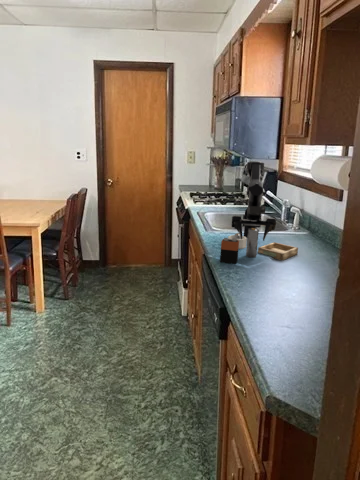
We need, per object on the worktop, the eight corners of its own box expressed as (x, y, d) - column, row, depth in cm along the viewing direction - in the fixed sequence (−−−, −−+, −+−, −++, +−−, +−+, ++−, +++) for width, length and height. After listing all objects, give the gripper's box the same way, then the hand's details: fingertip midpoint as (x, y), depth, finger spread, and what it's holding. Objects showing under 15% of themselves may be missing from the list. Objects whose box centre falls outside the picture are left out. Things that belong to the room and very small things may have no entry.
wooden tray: (273, 248, 190) (274, 242, 189) (297, 254, 182) (298, 247, 182) (257, 254, 180) (258, 247, 179) (281, 260, 172) (282, 253, 171)
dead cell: (236, 244, 190) (237, 232, 189) (241, 246, 188) (242, 233, 187) (232, 245, 188) (233, 233, 187) (237, 247, 186) (238, 234, 185)
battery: (236, 264, 165) (238, 240, 162) (219, 262, 166) (221, 238, 164) (237, 261, 169) (239, 238, 166) (221, 259, 170) (222, 236, 168)
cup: (234, 244, 194) (235, 234, 193) (248, 248, 189) (249, 237, 188) (224, 247, 188) (225, 237, 187) (238, 251, 183) (239, 240, 182)
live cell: (249, 255, 177) (251, 226, 174) (258, 257, 175) (260, 228, 171) (243, 257, 174) (246, 228, 171) (252, 260, 171) (255, 230, 168)
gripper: (233, 197, 174) (231, 227, 166) (278, 199, 172) (277, 231, 164) (232, 211, 184) (230, 241, 176) (274, 214, 181) (274, 244, 173)
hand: (252, 239), depth 172 cm, fingers open, 9 cm apart
